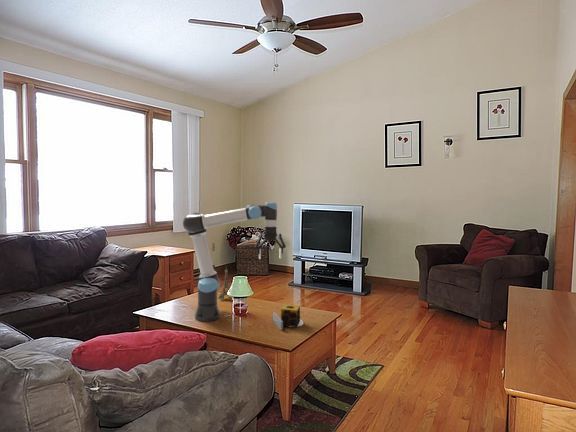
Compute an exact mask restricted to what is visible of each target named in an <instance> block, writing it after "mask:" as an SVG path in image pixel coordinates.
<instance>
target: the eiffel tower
mask: <svg viewBox="0 0 576 432" xmlns="http://www.w3.org/2000/svg"><path fill="white" fill-rule="evenodd" d="M227 269H228V268H227V264H226V268H225V270H224V273H225V275H224V282H223V284H222V290H221V293H220V294H219V295H218V296H217V300H218V299H219V300H218V301H219V302H220V303H221V302H224V299H225V296H228V295H227V292H228V290H229V291H230V285H229V274H228V273H229V270H227ZM228 298H229V299H230V301H231V302H233V301H232V298H231V297H228Z"/></svg>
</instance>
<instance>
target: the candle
mask: <svg viewBox="0 0 576 432" xmlns="http://www.w3.org/2000/svg"><path fill="white" fill-rule="evenodd" d="M280 319H281V320H282V321H283V327H287V326H293V327H292V328H297V326H298V325H299V322H300V320H301V305H295V304H284V305H283V306H282V307H281V308H280Z"/></svg>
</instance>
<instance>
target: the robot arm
mask: <svg viewBox="0 0 576 432" xmlns="http://www.w3.org/2000/svg"><path fill="white" fill-rule="evenodd" d="M277 217H278V204H277V202H275V201H274V202H273V201H267V202H265V205H264V204H263V205H261V204H248V205H246V207H243V208H238V209H231V210H227V211H220V212H216V213H215V212H213V213H210V214H205V213H199V212H192V213H190V214H188V215H186V216H185V217H184V218H183V222H182V226H183V228H184V230H185V231H187V233H188V237H190V238H191V240H192V245H193V248H194V252H195V253H194V254H195V255H196V260H197V264H198V268H199V271H200V275H199V276H198V279H199V280H198V283H197V308H196V311H195V314H194V319H195V320H196V321H199V322H213V321H217V320H219V319H220V318H221V312H220V310H219V309H220V308H219V307H218V293H219V291H220V288H221V280H220V278H219V276H218V272H217V271H216V270H214V265H213V260H212V257H211V254H210V249H209V245H208V241H207V237H206V234H207V233H208V231H207V228H211V227H216V226H222V225H227V224H233V223H238V222H243V221H247V220H250V221H251V220H257V219H259V218H264V233H259V236H258V239H257V241H256V243H255V245H254V248H255V249H256V250H257V251H256V253H257V255H258V259H259V260H261V259H262V257H261V256H262V249H261V248H262V247H263V246H264V244H265V243H266V242H267V241H268V242H270V241H275V243H276V244H277V245H278V247H279V250H278V251H279V252H278V259H280V260H282V254H283V253H284V249H285V248H286V244H285V242H284V239H283V238H282V233H277V229H278V228H277V226H278V225H277V221H278V220H277ZM277 237H278V239H279V241H280V242H279V241H278V239H277ZM263 238H264V239H263ZM262 239H263V240H262Z"/></svg>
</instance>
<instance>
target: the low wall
mask: <svg viewBox="0 0 576 432" xmlns="http://www.w3.org/2000/svg"><path fill="white" fill-rule="evenodd" d="M272 314H273V315H272V316H273V317H272V318H273V322H274V323H275V325H276V326H277V327H278V329H279V331H284V329H283V328H284V326H283V321H282V320H281V316H279V315H278V313H277V312H276V311H274V312H273V313H272Z"/></svg>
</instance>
